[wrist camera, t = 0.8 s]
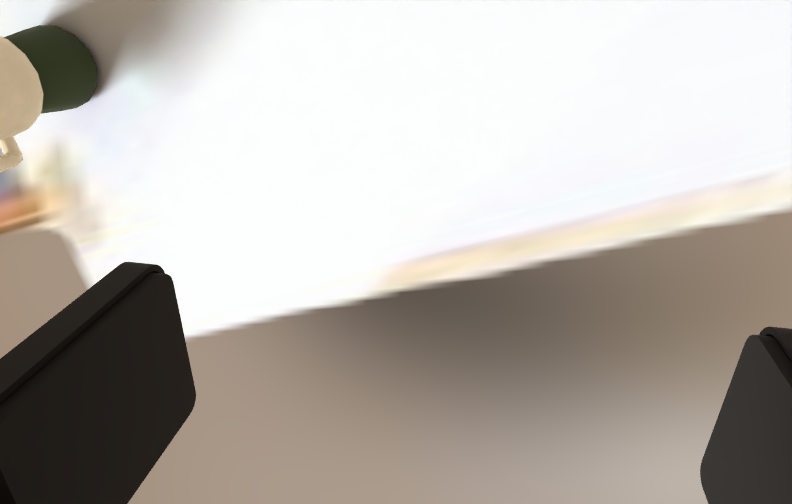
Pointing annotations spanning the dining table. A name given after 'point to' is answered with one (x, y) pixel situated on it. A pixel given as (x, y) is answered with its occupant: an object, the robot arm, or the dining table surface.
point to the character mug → (40, 81)
